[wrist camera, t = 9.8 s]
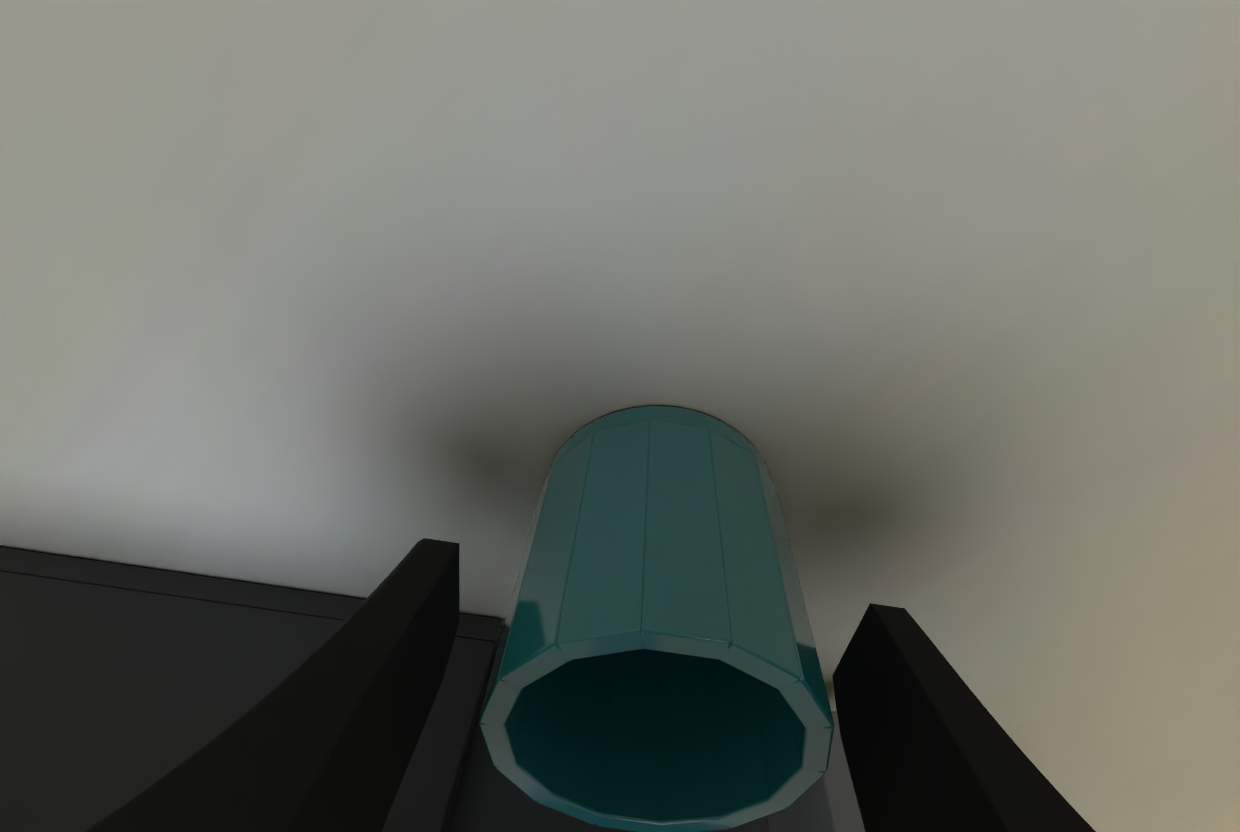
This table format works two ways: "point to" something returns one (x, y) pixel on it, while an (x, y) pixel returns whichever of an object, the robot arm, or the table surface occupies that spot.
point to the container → (658, 636)
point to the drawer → (522, 828)
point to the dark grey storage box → (177, 684)
